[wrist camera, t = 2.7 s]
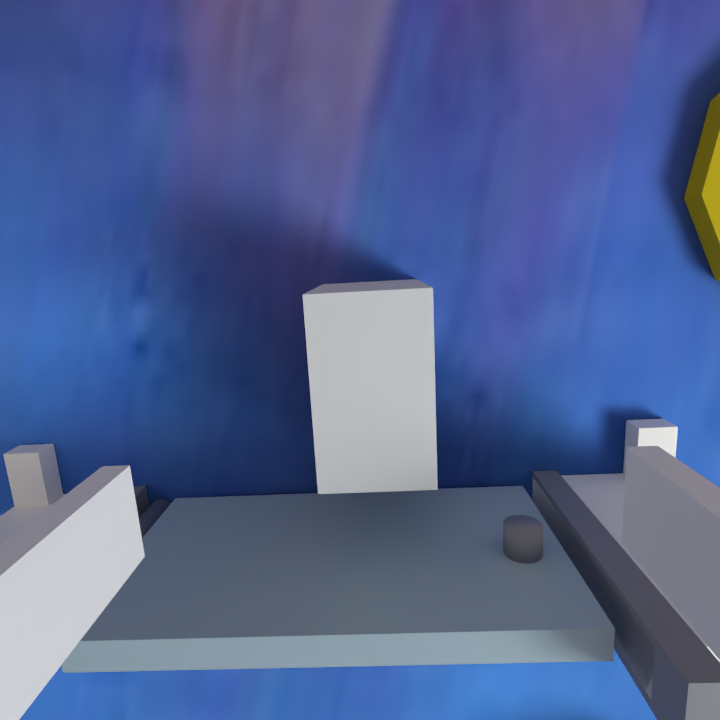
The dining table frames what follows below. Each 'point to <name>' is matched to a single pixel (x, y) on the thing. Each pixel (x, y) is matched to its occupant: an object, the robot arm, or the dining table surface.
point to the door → (347, 585)
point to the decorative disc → (707, 187)
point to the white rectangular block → (372, 385)
